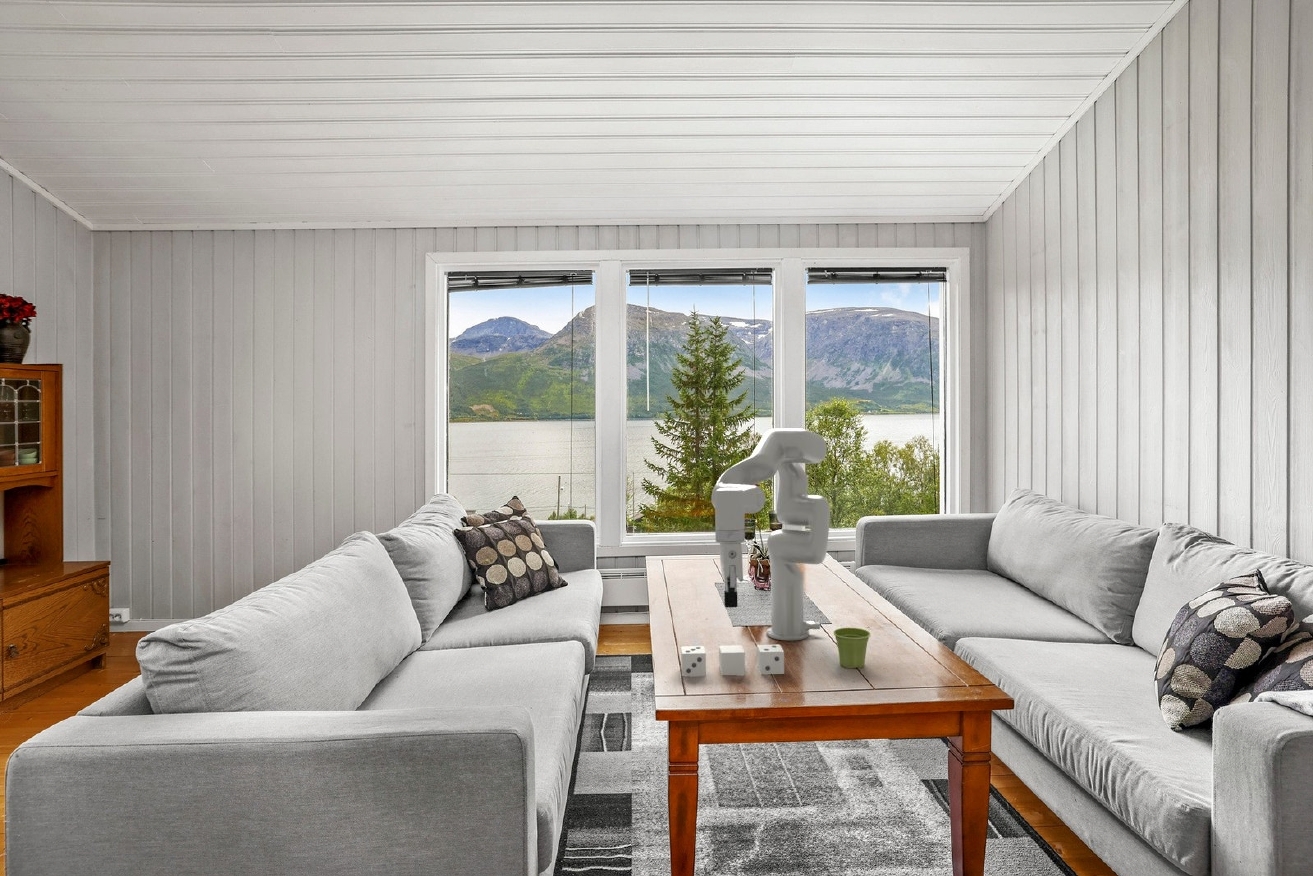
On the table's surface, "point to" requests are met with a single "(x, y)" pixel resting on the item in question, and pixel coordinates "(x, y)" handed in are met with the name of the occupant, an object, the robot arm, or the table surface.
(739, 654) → the plain block
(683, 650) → the three dot block
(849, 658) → the plant pot
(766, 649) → the two dot block
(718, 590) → the table surface
